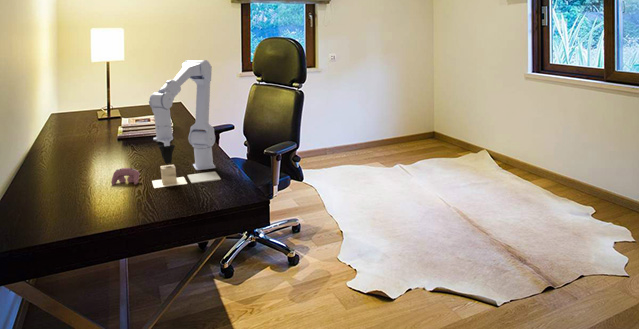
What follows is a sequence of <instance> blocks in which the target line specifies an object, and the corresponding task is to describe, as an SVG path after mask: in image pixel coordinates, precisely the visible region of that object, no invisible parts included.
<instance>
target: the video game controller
mask: <svg viewBox="0 0 639 329" xmlns="http://www.w3.org/2000/svg"><path fill="white" fill-rule="evenodd" d="M140 175H141V174H140V171H139V170H137V169H135V168H132V167H122V168H117V169H116V170H115V171H114V172H113V174H112V177H111V180H110V183H111V186H115V185H116V184H117V182H118V181H119V183H121V184H124V183H126V181H127V182H128V183H130V184H132V183H133V184H134V185H138V183H139V180H140V179H139V178H140ZM126 176H128V177H127V178H126Z"/></svg>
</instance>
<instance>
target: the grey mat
mask: <svg viewBox="0 0 639 329" xmlns="http://www.w3.org/2000/svg"><path fill="white" fill-rule="evenodd" d="M186 177H187V178H188V180H189V181H190V183H191V184H200V183H206V182H214V181H220V180H222V178H221V177H220V175H219V174H218V173H217V172H216V171H208V172H201V173H200V172H199V173H192V174H187V176H186Z"/></svg>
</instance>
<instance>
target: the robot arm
mask: <svg viewBox="0 0 639 329" xmlns="http://www.w3.org/2000/svg"><path fill="white" fill-rule="evenodd" d="M212 71H213V68H212V65H211V63H210V62H209V61H208V60H207V59H203V60H201V59H200V60H199V59H197V60H195V59H193V60H191V59H186V60H185V61H184V62H183V63H181V69H180V70H179V72H178V73H177V74H176V75H175V77H174V78H173V79H169V80H166V81H165V83H164V85H162V86H161V88H159V90H158V91H157V92H153V93H152V94H150V96H149V100H148V104H149V107H150V108H151V111H152V113H153V115H154V116H153V118H154V125H155V126H154V127H155V134H156V136H155V137H153V138H152V139H153V141H155V143H156V144H157V146H158V148H159V151H160V153H161V158H162V159H163V161H164V164H165V165H172V162H173V160H172V159H173V154H174V153H173V152H174V149H175V144H172V142H173V139H174V136H173V128H172V117H171V116H172V115H171V110H170V109H171V108H172V106H173V103H174V100H175V98H176V97H177V95H178V94H179V93H180V92H181V90H182V86H183V85H184V83H186V82H187V81H188V80H189V79H190V80H191V81H192V82H194V83H195V84H196V100H195V123H194V124H192V125H191V126H190V129H189V134H188V137H187V138H188V143H189V144H190V145H191V146H192V148H193V154H194V163H192V166H193V168H194V169H195V170H196V171H201V170H209V169H210V170H211V169H216V165H215V164H214V162H213V161H214V160H213V149H212V148H213V146H214V144H215V142H216V135H215V134H216V133H215V128H214V127H213V126H212V125H211V124H210V96H211V95H210V94H211V81H212Z"/></svg>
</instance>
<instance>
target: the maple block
mask: <svg viewBox="0 0 639 329" xmlns="http://www.w3.org/2000/svg"><path fill="white" fill-rule="evenodd" d="M159 168H160V175H161V176H160V177H161V180H162V183H163V185H166V184H173V183H177V178H178V177H177V172H176V171H177V169H176V166H175V164H165V165H160V166H159Z"/></svg>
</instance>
